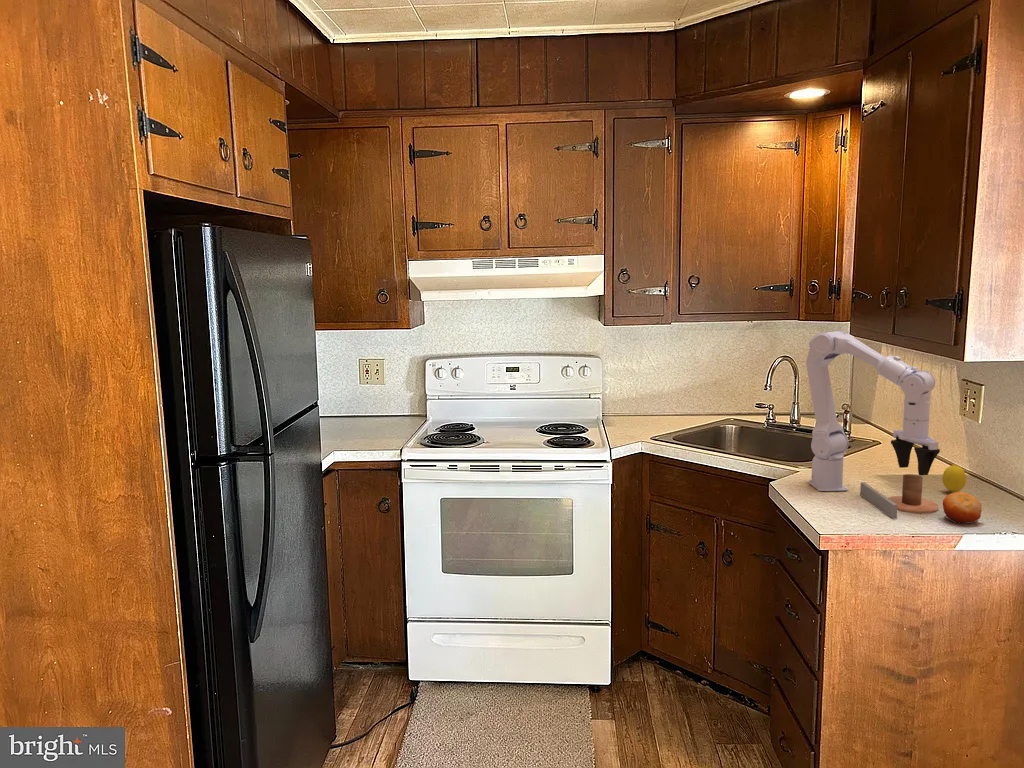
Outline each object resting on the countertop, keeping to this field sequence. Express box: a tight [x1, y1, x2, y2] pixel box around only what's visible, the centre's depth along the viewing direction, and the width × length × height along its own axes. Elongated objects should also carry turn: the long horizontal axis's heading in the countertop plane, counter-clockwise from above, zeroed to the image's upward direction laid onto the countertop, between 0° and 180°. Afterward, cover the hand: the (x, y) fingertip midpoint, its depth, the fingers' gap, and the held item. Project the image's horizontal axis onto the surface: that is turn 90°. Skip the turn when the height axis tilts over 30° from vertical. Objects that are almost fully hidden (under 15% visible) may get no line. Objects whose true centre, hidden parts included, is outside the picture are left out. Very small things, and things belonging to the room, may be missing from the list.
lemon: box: [942, 463, 967, 493], centre depth 199 cm, size 6×6×8 cm
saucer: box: [887, 495, 939, 514], centre depth 190 cm, size 12×12×1 cm
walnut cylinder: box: [901, 473, 924, 506], centre depth 189 cm, size 4×4×7 cm
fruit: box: [942, 491, 983, 525], centre depth 178 cm, size 8×8×8 cm
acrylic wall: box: [859, 481, 898, 520], centre depth 190 cm, size 20×1×4 cm, turn 176°
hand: (913, 471), depth 189 cm, fingers open, 7 cm apart
